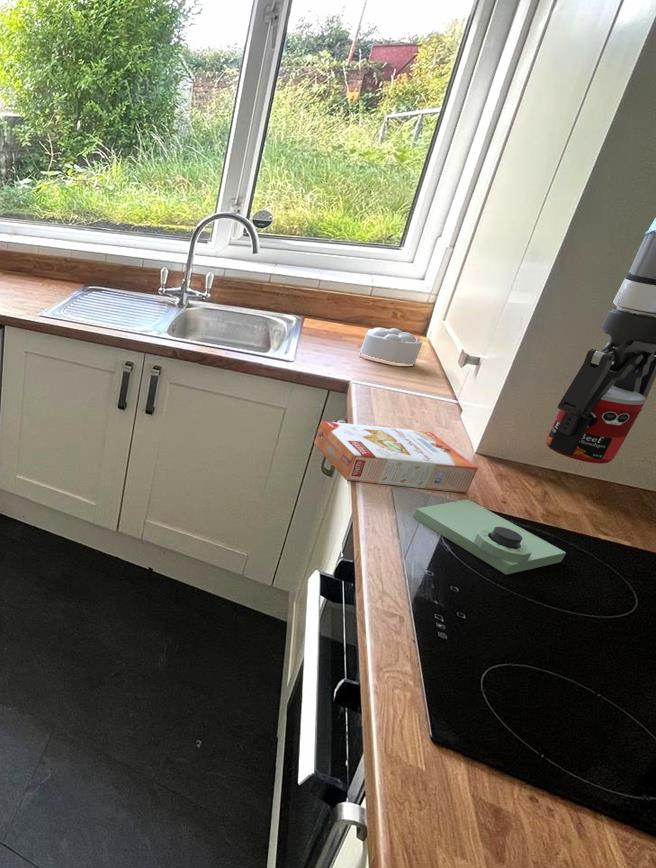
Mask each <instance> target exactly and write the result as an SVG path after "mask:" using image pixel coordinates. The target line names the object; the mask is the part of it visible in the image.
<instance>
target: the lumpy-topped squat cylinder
mask: <svg viewBox="0 0 656 868" xmlns="http://www.w3.org/2000/svg"><path fill="white" fill-rule="evenodd" d="M422 345H423V341H422V340H421V339H419V338H417V337H415V335H413V334H412V333H410V332H408V331H407V332H403V331H402V330H401V329H399V328H396V327H393V328H385V327H380V326H379V327H378V326H377V327H374V328H369V329H368V330H367V332H366V333H365V336H364V339H363V342H362V345H361V348H360V351H359V353H360V352H361V353H363V354H365V355H368V356H371V357H375V358H379V359H383V360H386V361H390V362H395V363H405V364H413V363H415V364H416V361H417V359H418V356H419V354H420V351H421V348H422Z"/></svg>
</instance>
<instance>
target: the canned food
mask: <svg viewBox="0 0 656 868" xmlns="http://www.w3.org/2000/svg"><path fill="white" fill-rule="evenodd" d="M645 400H646V401H647V399H646V398H645V397H644V396H643V395H641V394H639V393H637V392H635V391H634V392H631V391H627V390H624V389H621V388H618V387H615V386H613V385H612V387H611V388H610V389H609V390H608V392H607V393H606V394H605V395H603V396H602V398H601V400H600V402H599V403H598V404H597V405H596V407H595V408H594V409H593V410H592V412H591V413H590V414H589V415H588V416H587V417H590V418H591V420H590V422H589V424H588V426H587V428H586V430H585V432H584V434H583V436H582V438H581V440H580V442H579V444H578V446H577V447H576V449H575V451H574V453H573V455H570V456H569V455H566V454H564V453H562V452H559V451H557V450H554V449H552V448H549V445H550V443H551V441H552V439H553V437H554V435H555V433H556V431H557V429H558V427H559V425H560V423H561V421H562V419H563V416H564V414H565V412H566V411H563V410H560V409H558V410H559V411H558V412H557V415H556V416H555V418H554V421H553V423H552V425H551V427H550V429H549V432H548V433H547V435H546V438H545V445H546V447H548V448H549V450H552V451H553V452H555V453H557V454H560V455H562V456H564V457H567V458H570V459H573V460H576V461H580V462H586V463H590V464H601V465H602V464H608V463H610V462H611V461H613V460H614V459H615V458H616V456H617V454H618V452H619V451H620V449H621V447H622V446H623V443H624V441H625V440H626V438H627V437H628V435H629V432H630V431H631V429H632V427H633V425H634V423H635V422H636V420H637V419H638V417H639V414H640V413H641V412H642V410H643V406H644V405H645V404H644V403H646V401H645ZM641 409H642V410H641ZM640 411H641V412H640Z"/></svg>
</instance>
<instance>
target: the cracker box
mask: <svg viewBox="0 0 656 868" xmlns="http://www.w3.org/2000/svg"><path fill="white" fill-rule="evenodd" d="M313 445H314V446H315V447H316V448H317V450H318V451H319V452H320V453H321V454H322V455H323V456H324V457H325V459H327V461H328V462H329V463H330V464H331V465H332V466H333V467H334V468H335V469H336V471H337V472H338V473H339V474H340V475H341V476H342V478H344V480H346V481H353V482H361V483H363V482H364V483H370V484H379V485H389V486H400V487H407V488H417V489H426V490H436V491H445V492H453V493H454V492H455V493H464V494H467V493H468V492H469V489H470V487H471V485H472V482H473V481H474V478H475V476H476V473H477V471H478V469H479V467H478V466H476V465H475V464H473V463H472V462H471V461H469V460H468V459H467V458H465V457H464V456H463V455H461V454H460V453H459V452H457V451H456V450H455V449H453V448H452V447H451V446H450V445H449V444H447V443H446V442H444V441H443V440H442V439H441V438H439V437H438V436H436V435H435V434H434V433H433V432H432V431H428V430H427V431H426V430H415V429H406V428H398V427H397V428H396V427H386V426H377V425H376V426H374V425H364V424H355V423H345V422H335V421H327V420H321V421H320V423H319V425H318V429H317V433H316V435H315V439H314V441H313Z"/></svg>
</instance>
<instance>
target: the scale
mask: <svg viewBox="0 0 656 868" xmlns="http://www.w3.org/2000/svg"><path fill="white" fill-rule="evenodd" d="M412 518H413V519H415V520H417V521H418V522H420V523H422V524H423V525H424V526H426V527H428V529H431V530H433V531H435V532H436V533H438V534H439V535H441V536H442V537H444V538H446V539H448V540H449V541H451V542H452V543H454V544H456V545H457V546H459V547H460V548H462V549H464V550H465V551H467V552H469V553H470V554H472V555H473V556H475V557H477V559H480V560H481V561H483V562H484V563H486V564H488V565H490V566H491V567H493V568H494V569H496V570H497V571H499V572H501V573H503V574H504V575H511V574H514V573H519V572H524V571H528V570H533V569H536V568H540V567H545V566H550V565H554V564H558V563H562V561H563V560H564V558H565V556H566V554H567V552H566V551H564V550H562V549H561V548H559V547H557V546H556V545H553V544H551V543H549V542H548V541H546V540H544V539H543V538H540V537H539V536H537V535H535V534H533V533H532V532H529V531H528V530H525V529H524V528H523V527H521V526H518V525H517V524H514V523H513V522H511V521H509V520H507V519H505V518H503V517H501V516H500V515H498V514H496V513H494V512H493V511H491V510H488V509H487V508H485V507H484V506H481V505H480V504H478V503H475V502H474V501H472V500H470V499H462V500H457V501H450V502H445V503H439V504H433V505H429V506H423V507H422V506H421V507H417V508H416V509H415V510H414V513H413V516H412ZM495 527H504V528H508V529H510V530H513V531H515V532H517V533H518V534H520V535H521V536H522V541H521V543H520V545H519V546H518V548H517V549H512V548H507V547H504V546H501V545H499V544H497V543H495V542H494V541H492V540H491V539H490V536H491V534H492V532H493V530H494V528H495Z"/></svg>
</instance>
